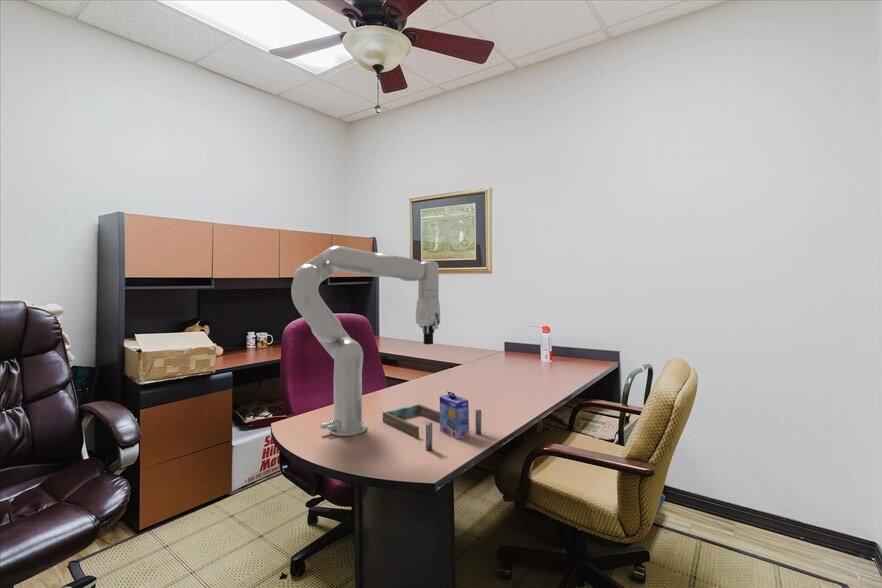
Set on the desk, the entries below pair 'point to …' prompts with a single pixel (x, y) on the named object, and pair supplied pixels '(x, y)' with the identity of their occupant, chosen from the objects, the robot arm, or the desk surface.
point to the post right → (478, 422)
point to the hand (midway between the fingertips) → (428, 343)
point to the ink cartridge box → (454, 416)
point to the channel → (396, 416)
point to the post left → (428, 436)
